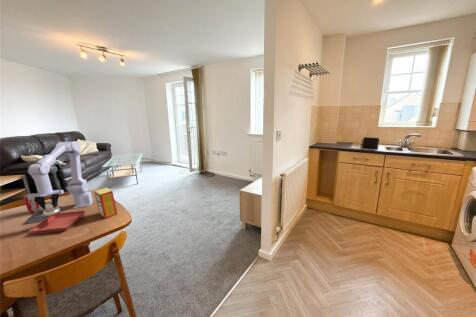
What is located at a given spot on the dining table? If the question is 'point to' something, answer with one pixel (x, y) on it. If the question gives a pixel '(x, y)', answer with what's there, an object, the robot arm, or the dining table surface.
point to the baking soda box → (105, 202)
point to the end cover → (50, 209)
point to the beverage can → (31, 204)
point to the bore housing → (38, 216)
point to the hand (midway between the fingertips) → (50, 207)
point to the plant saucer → (58, 222)
